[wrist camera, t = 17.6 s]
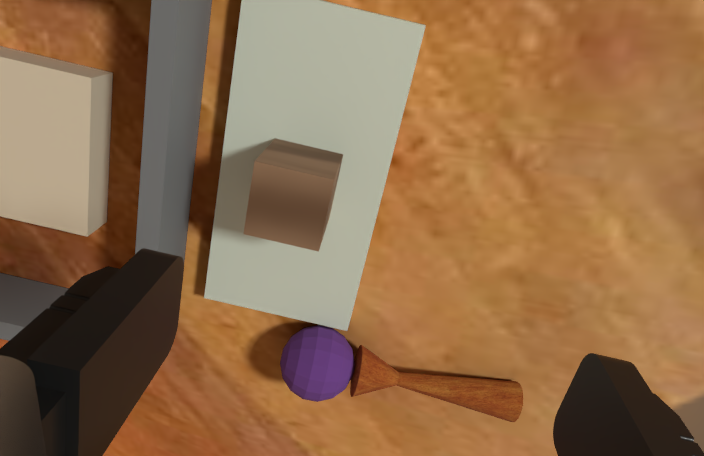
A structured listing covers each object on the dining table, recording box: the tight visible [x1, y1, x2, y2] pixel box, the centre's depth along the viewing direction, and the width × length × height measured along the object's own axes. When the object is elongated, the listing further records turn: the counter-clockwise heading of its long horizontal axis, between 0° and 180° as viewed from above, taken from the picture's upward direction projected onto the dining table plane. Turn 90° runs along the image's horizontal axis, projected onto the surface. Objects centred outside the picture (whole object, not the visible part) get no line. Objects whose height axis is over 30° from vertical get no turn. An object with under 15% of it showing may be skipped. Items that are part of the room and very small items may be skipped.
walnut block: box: [243, 138, 343, 252], centre depth 37 cm, size 5×5×6 cm
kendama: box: [280, 325, 523, 422], centre depth 45 cm, size 6×6×20 cm
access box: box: [0, 0, 212, 341], centre depth 39 cm, size 30×25×6 cm
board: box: [204, 0, 425, 331], centre depth 40 cm, size 24×12×2 cm, turn 168°
